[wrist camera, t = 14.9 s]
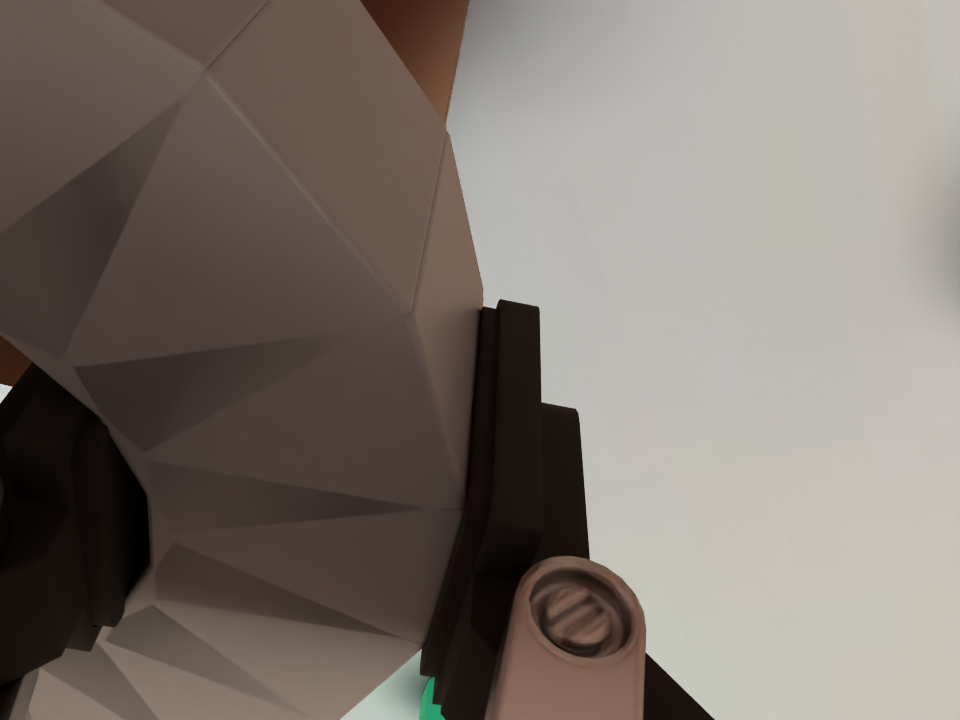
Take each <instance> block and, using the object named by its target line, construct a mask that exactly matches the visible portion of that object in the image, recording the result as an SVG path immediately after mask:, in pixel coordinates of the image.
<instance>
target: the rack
mask: <svg viewBox="0 0 960 720" xmlns="http://www.w3.org/2000/svg"><path fill="white" fill-rule="evenodd" d="M360 1H361V3H362V4H363V6H364V7H365V8H366V10H367V11H368V13H369V14H370V16H371V17H372V19H373V20H374V21H375V23H376V24H377V26H378V27H379V29H380V30H381V32H382V33H383V34H384V36H385V37H386V39H387V40H388V42H389V43H390V45H391V46H392V47H393V49H394V50H395V52H396V53H397V55H398V56H399V58H400V59H401V60H402V62H403V63H404V65H405V66H406V68H407V69H408V70H409V72H410V73H411V75H412V76H413V78H414V79H415V81H416V82H417V83H418V85H419V86H420V88H421V89H422V91H423V92H424V94H425V95H426V96H427V98H428V99H429V101H430V102H431V104H432V105H433V107H434V108H435V109H436V111H437V112H438V114H439V115H440V117H441V118H442V120H443V121H444V122H445V124H446V121H447V116H448V110H449V105H450V100H451V95H452V89H453V84H454V79H455V74H456V68H457V63H458V58H459V53H460V47H461V42H462V37H463V32H464V26H465V21H466V16H467V11H468V5H469V0H360ZM31 363H32V361H31V360H30V359H29V358H27V357H26V356H25V355H24V354H23V353H21V352H20V351H19V350H18V349H17V348H15V347H14V346H13V345H12V344H11V343H9V342H8V341H7V340H6V339H5V338H3V337H2V336H1V335H0V384H4V385H8V386H12V387H14V385H15V384H16V383H17V381H18V380H19V379H20V377H21V376H22V375H23V374H24V372H25V371H26V370H27V368H28V367H29V366H30V364H31Z"/></svg>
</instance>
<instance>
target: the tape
mask: <svg viewBox="0 0 960 720" xmlns="http://www.w3.org/2000/svg"><path fill="white" fill-rule="evenodd" d="M482 307H483V286H482V281H481V277H480V272H479V267H478V263H477V258H476V254H475V249H474V245H473V240H472V235H471V231H470V226H469V222H468V217H467V213H466V208H465V203H464V199H463V194H462V190H461V185H460V180H459V176H458V171H457V167H456V162H455V158H454V153H453V148H452V144H451V139H450V135H449V134H448V132H447V131H446V124H445V122H444V121H443V120H442V118H441V117H440V115H439V114H438V112H437V111H436V109H435V108H434V107H433V105H432V104H431V102H430V101H429V99H428V98H427V96H426V95H425V94H424V92H423V91H422V89H421V88H420V86H419V85H418V83H417V82H416V81H415V79H414V78H413V76H412V75H411V73H410V72H409V70H408V69H407V68H406V66H405V65H404V63H403V62H402V60H401V59H400V58H399V56H398V55H397V53H396V52H395V50H394V49H393V47H392V46H391V45H390V43H389V42H388V40H387V39H386V37H385V36H384V34H383V33H382V32H381V30H380V29H379V27H378V26H377V24H376V23H375V21H374V20H373V19H372V17H371V16H370V14H369V13H368V11H367V10H366V8H365V7H364V6H363V4H362V3H361V1H360V0H0V335H1V336H2V337H3V338H5V339H6V340H7V341H8V342H9V343H11V344H12V345H13V346H14V347H15V348H17V349H18V350H19V351H20V352H21V353H23V354H24V355H25V356H26V357H27V358H29V359H30V360H31V361H32V362H33V363H35V364H36V365H37V366H38V367H39V368H41V369H42V370H43V371H44V372H45V373H47V374H48V375H49V376H50V377H51V378H53V379H54V380H55V381H56V382H57V383H59V384H60V385H61V386H62V387H63V388H65V389H66V390H67V391H68V392H69V393H71V394H72V395H73V396H74V397H75V398H77V399H78V400H79V401H80V402H81V403H83V404H84V405H85V406H86V407H87V408H89V409H90V410H91V411H92V412H93V413H95V414H96V415H97V416H98V417H99V418H100V420H101V422H102V423H103V424H105V425H107V426H108V430H109V435H110V436H111V438H112V440H113V441H114V443H115V444H116V446H117V448H118V449H119V451H120V452H121V454H122V456H123V457H124V459H125V461H126V462H127V464H128V465H129V467H130V469H131V470H132V472H133V474H134V475H135V477H136V478H137V480H138V482H139V483H140V485H141V487H142V488H143V490H144V491H145V493H146V495H147V506H148V524H149V542H150V545H149V547H148V549H147V552H146V554H145V556H144V558H143V560H142V563H141V565H140V567H139V569H138V571H137V574H136V576H135V578H134V580H133V582H132V585H131V587H130V589H129V591H128V593H127V596H126V600H125V612H124V614H123V617H122V618H121V620H120V622H119V624H118V625H117V626H116V627H114V628H113V627H106V626H102V629H101V631H100V633H99V635H98V637H97V639H96V642H95V644H94V646H93V648H92V650H91V652H87V651H81V650H74V649H68V648H65V650H64V652H63V654H62V656H61V657H59V658H57V659H55V660H53V661H51V662H49V663H47V664H45V665H43V666H41V667H40V669H39V676H38V680H37V683H36V686H35V689H34V692H33V695H32V698H31V701H30V704H29V707H28V710H27V713H26V716H25V719H24V720H340V719H341V718H342V717H343V716H344V715H345V714H346V713H348V712H349V711H350V710H351V709H352V708H353V707H355V706H356V705H357V704H358V703H359V702H360V701H361V700H363V699H364V698H365V697H366V696H367V695H368V694H370V693H371V692H372V691H373V690H374V689H375V688H377V687H378V686H379V685H380V684H381V683H382V682H383V681H385V680H386V679H387V678H388V677H389V676H390V675H392V674H393V673H394V672H395V671H396V670H397V669H399V668H400V667H401V666H402V665H403V664H404V663H405V662H407V661H408V660H409V659H410V658H411V657H412V656H414V655H415V654H416V653H417V652H418V651H419V650H420V649H422V648H423V647H424V645H425V642H426V639H427V635H428V632H429V628H430V625H431V622H432V618H433V615H434V611H435V608H436V605H437V601H438V598H439V594H440V591H441V587H442V584H443V581H444V577H445V574H446V570H447V567H448V563H449V560H450V557H451V553H452V550H453V546H454V543H455V540H456V536H457V533H458V529H459V526H460V522H461V519H462V516H463V512H464V507H465V504H466V499H467V489H468V476H469V463H470V450H471V437H472V424H473V411H474V398H475V385H476V372H477V359H478V346H479V333H480V320H481V310H482Z"/></svg>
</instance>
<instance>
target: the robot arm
mask: <svg viewBox="0 0 960 720" xmlns="http://www.w3.org/2000/svg"><path fill="white" fill-rule="evenodd" d="M149 545H150V542H149V524H148V506H147V495H146V493H145V491H144V490H143V488H142V487H141V485H140V483H139V482H138V480H137V478H136V477H135V475H134V474H133V472H132V470H131V469H130V467H129V465H128V464H127V462H126V461H125V459H124V457H123V456H122V454H121V452H120V451H119V449H118V448H117V446H116V444H115V443H114V441H113V440H112V438H111V436H110V435H109V430H108V426H107V425H105V424H103V423H102V422H101V420H100V418H99V417H98V416H97V415H96V414H95V413H93V412H92V411H91V410H90V409H89V408H87V407H86V406H85V405H84V404H83V403H81V402H80V401H79V400H78V399H77V398H75V397H74V396H73V395H72V394H71V393H69V392H68V391H67V390H66V389H65V388H63V387H62V386H61V385H60V384H59V383H57V382H56V381H55V380H54V379H53V378H51V377H50V376H49V375H48V374H47V373H45V372H44V371H43V370H42V369H41V368H39V367H38V366H37V365H36V364H35V363H33V362H32V363H31V364H30V366H29V367H28V368H27V370H26V371H25V372H24V374H23V375H22V376H21V377H20V379H19V380H18V381H17V383H16V384H15V385H14V387H13V388H12V389H11V390H10V392H9V393H8V394H7V396H6V397H5V398H4V400H3V401H2V402H1V404H0V720H24V719H25V716H26V713H27V710H28V707H29V704H30V701H31V698H32V695H33V692H34V689H35V686H36V683H37V680H38V676H39V669H40V667H41V666H43V665H45V664H47V663H49V662H51V661H53V660H55V659H57V658H59V657H61V656H62V654H63V652H64V650H65V648H68V649H74V650H81V651H87V652H91V650H92V648H93V646H94V644H95V642H96V639H97V637H98V635H99V633H100V631H101V629H102V626H106V627H113V628H114V627H116V626H117V625H118V624H119V622H120V620H121V618H122V617H123V614H124V612H125V600H126V596H127V593H128V591H129V589H130V587H131V585H132V582H133V580H134V578H135V576H136V574H137V571H138V569H139V567H140V565H141V563H142V560H143V558H144V556H145V554H146V552H147V549H148V547H149ZM645 648H646V625H645V618H644V612H643V609H642V607H641V605H640V603H639V601H638V599H637V597H636V595H635V593H634V592H633V591H632V590H631V589H630V588H629V586H628V585H627V584H626V583H625V582H624V581H623V579H622V578H620V577H619V576H617V575H616V574H615V573H613V572H612V571H611V570H609V569H608V568H606V567H605V566H602V565H600V564H598V563H595V562H593V561H591V560H590V557H589V543H588V530H587V516H586V503H585V489H584V476H583V463H582V449H581V436H580V422H579V416H578V412H577V410H576V409H573V408H568V407H563V406H557V405H552V404H547V403H541V360H540V312H539V307H537V306H532V305H527V304H522V303H517V302H512V301H507V300H502V299H500V300H499V302H498V304H497V308H496V309H493V308H488V307H482V310H481V320H480V333H479V346H478V359H477V372H476V385H475V398H474V411H473V424H472V437H471V450H470V463H469V476H468V489H467V499H466V504H465V507H464V512H463V516H462V519H461V522H460V526H459V529H458V533H457V536H456V540H455V543H454V546H453V550H452V553H451V557H450V560H449V563H448V567H447V570H446V574H445V577H444V581H443V584H442V587H441V591H440V594H439V598H438V601H437V605H436V608H435V611H434V615H433V618H432V622H431V625H430V628H429V632H428V635H427V639H426V642H425V645H424V647H423V648H422V653H421V662H420V675H422V676H428V677H435V679H434V690H433V700H432V704H436V705H441V712H440V714H441V715H442V716H443V717H444V719H445V720H714V719H713V718H712V717H711V716H710V715H709V714H708V713H707V712H706V711H705V710H704V709H703V708H702V707H701V706H700V705H699V704H698V703H697V702H696V701H695V700H694V699H693V698H692V697H691V696H690V695H689V694H688V693H687V692H686V691H685V690H684V689H683V688H682V687H681V686H680V685H679V684H677V683H676V682H675V681H674V680H673V679H672V678H671V677H670V676H669V675H668V674H667V673H666V672H665V671H664V670H663V669H662V668H661V667H660V666H659V665H658V664H657V663H656V662H655V661H654V660H653V659H652V658H651V657H650V656H649V655H648V654H647V653H646V652H645Z"/></svg>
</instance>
